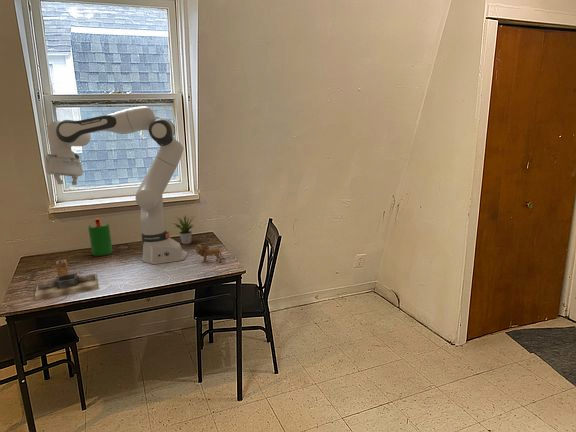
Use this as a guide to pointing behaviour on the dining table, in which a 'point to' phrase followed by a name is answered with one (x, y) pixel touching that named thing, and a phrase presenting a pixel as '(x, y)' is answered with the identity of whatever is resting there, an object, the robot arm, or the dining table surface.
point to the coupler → (62, 267)
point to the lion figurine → (208, 252)
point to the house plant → (185, 230)
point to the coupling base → (66, 285)
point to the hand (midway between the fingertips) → (67, 184)
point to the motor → (100, 239)
